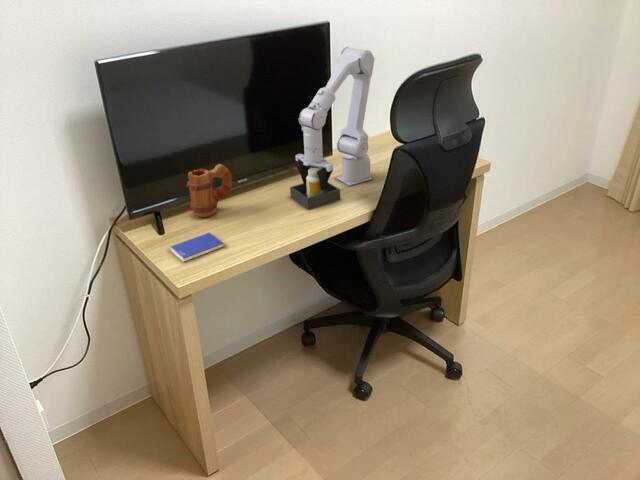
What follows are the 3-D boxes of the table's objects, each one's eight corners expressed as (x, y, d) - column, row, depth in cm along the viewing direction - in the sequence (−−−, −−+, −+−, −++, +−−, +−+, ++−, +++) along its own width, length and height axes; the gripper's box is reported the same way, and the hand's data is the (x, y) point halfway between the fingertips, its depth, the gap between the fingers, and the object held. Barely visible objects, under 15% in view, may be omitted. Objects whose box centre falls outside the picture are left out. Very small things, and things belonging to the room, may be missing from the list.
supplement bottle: (303, 196, 189) (302, 169, 185) (316, 192, 192) (315, 165, 188) (314, 202, 186) (312, 174, 181) (326, 197, 189) (325, 170, 184)
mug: (194, 222, 177) (187, 177, 170) (186, 212, 184) (179, 168, 176) (239, 211, 183) (234, 167, 175) (230, 201, 189) (225, 158, 182)
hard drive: (183, 257, 156) (222, 242, 163) (169, 245, 162) (208, 231, 169) (183, 262, 157) (223, 247, 164) (170, 250, 163) (209, 236, 169)
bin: (321, 188, 196) (321, 178, 194) (340, 199, 188) (340, 189, 186) (290, 197, 191) (290, 187, 189) (308, 209, 182) (307, 199, 181)
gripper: (287, 145, 182) (290, 184, 189) (321, 155, 174) (323, 196, 180) (303, 138, 187) (305, 177, 193) (337, 148, 178) (337, 188, 185)
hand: (314, 186), depth 187 cm, fingers open, 7 cm apart
